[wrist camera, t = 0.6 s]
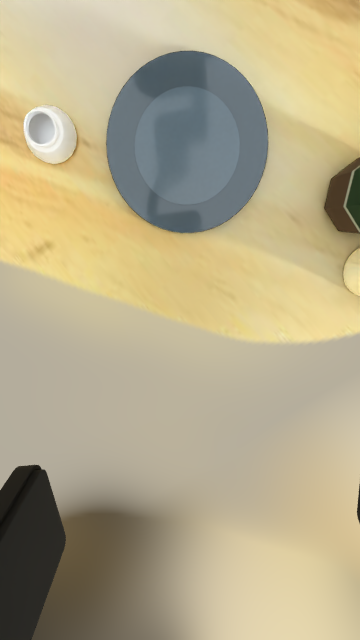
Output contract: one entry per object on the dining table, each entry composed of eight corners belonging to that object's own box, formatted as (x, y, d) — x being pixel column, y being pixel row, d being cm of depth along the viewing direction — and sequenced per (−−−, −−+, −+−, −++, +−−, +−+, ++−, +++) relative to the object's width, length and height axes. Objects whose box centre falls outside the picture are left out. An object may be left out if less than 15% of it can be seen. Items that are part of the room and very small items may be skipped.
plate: (89, 78, 29) (85, 72, 28) (254, 37, 28) (257, 29, 27) (130, 246, 34) (128, 246, 33) (273, 215, 33) (277, 215, 31)
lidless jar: (27, 158, 31) (75, 168, 31) (11, 152, 28) (65, 163, 28) (29, 103, 30) (80, 114, 30) (13, 90, 27) (69, 102, 27)
